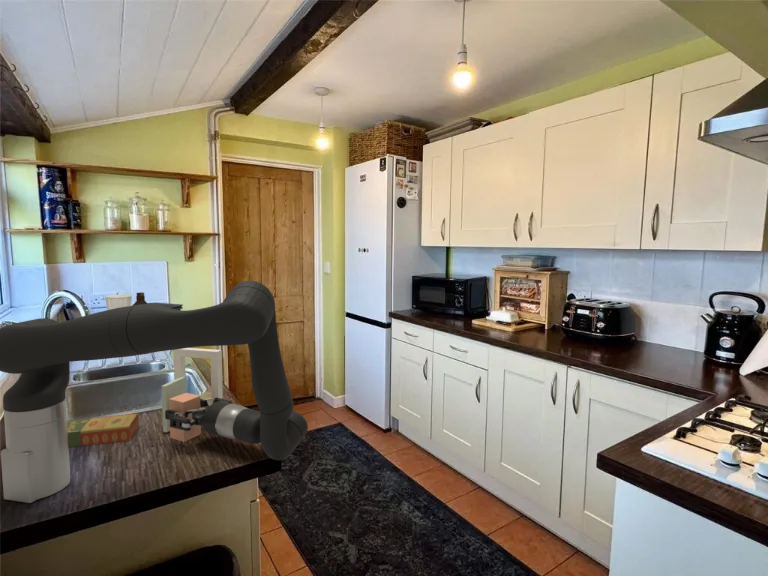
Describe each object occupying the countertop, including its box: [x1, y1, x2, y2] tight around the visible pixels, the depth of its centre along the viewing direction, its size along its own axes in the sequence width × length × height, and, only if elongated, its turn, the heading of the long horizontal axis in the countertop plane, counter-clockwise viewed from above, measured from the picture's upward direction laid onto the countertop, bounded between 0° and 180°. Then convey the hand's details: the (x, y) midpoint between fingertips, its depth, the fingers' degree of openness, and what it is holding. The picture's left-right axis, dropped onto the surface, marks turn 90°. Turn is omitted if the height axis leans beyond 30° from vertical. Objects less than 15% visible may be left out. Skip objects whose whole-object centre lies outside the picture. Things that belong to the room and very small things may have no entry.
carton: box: [67, 413, 140, 448], centre depth 104 cm, size 8×16×4 cm, turn 107°
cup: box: [104, 293, 133, 310], centre depth 211 cm, size 12×12×22 cm
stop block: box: [169, 392, 202, 443], centre depth 106 cm, size 5×5×10 cm
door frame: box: [172, 347, 224, 401], centre depth 114 cm, size 2×13×20 cm, turn 79°
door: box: [161, 376, 188, 433], centre depth 110 cm, size 1×8×12 cm, turn 169°
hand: (181, 407), depth 106 cm, fingers open, 8 cm apart
